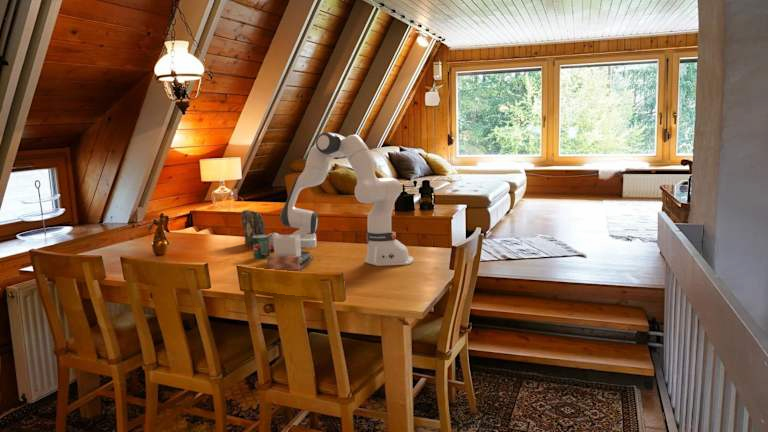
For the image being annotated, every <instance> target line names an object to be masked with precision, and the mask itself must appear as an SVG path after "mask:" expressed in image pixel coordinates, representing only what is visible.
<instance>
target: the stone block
mask: <svg viewBox="0 0 768 432" xmlns="http://www.w3.org/2000/svg"><path fill="white" fill-rule="evenodd" d="M240 216H241V218H240V219H241V223H242V228H243V232H244V233H243V234H244V244H245V245H246V246H247V247H249V248H252V249H253V236H255V235H265V230H266V225H265V223H264V219H263V216H262V215H261V213H259V212H257V211H255V210H250V209H249V210H248V209H245V210H242V212H241V215H240Z"/></svg>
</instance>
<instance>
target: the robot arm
mask: <svg viewBox="0 0 768 432" xmlns="http://www.w3.org/2000/svg"><path fill="white" fill-rule="evenodd" d="M315 141H316V142H315V145H313V146H312V147H311V148H310V150H309V152H308V154H307V155H308V156H307V158H306V161H305V167H304V169H303V170H302V172H301V174H299V175H297V176H296V177H295V179H294V182H292V183H293V184H292V186H291V188H290V191H289V193H288V196H287V198H286V202H285V204H284V206H283V208H282V211H281V213H280V216H279V220H280V222H281V224H282V225H283V226H284V227H288V228H296V229H297V230H295V231H294V232H293V233H291V234H290V235H300V240H301V250H303V249H309V248H316V247H317V243H318V242H317V234H316V232H317V231H318V230H317V229H318V228H319V221H320V220H319V216H318V214H317V213H316V212H315V211H313V210H308V209H304V208H299V207H296V206H295V205H296V203H297V200H298V197H299V194H300V192H301V191H302V190H303V189H306V188H311V187H316V186H317V187H318V186H320V185H321V184H322V183H324V181H326V178H327V175H328V170H329V166H330V165H329V164H330V161H331V160H332V159H334V160H338V159H347V161H348V162H349V164H350V167H351V168H352V170H353V172H354V174H355V176H356V185H355V187H354V196H355V198H356V200H357V201H358V202H359V203H362V204H371V205H372V204H373V206H372V208H371V210H370V211H369V213H368V214H367V216H366V217H367V218H366V219H367V222H366V223H367V232H366V244H367V251H366V256H365V257H366V258H365V260H364V262H365V264H368V265H369V264H370V265H373V266H376V267H379V266H380V267H382V266H402V265H403V266H404V265H405V266H407V265H411V264H412V263H413V262H414V257H413V256H411V255H410V254H409V250H408V248H407V246H406V245H405V244H403V243H402V242H401V241H399V240H398V239H396V238H397V234H396V231H393V230H392V215H393V208H394V205H395V202H396V201H397V199H398V197H400V195H401V193H402V184H401V182H400V181H399V180H398V179H397V178H394V177H388V176H386V177H379V178H378V177H377V175H376V170H377V166H378V164H377V161H376V159H375V157H374V155H373V154H372V153H371V150H370V149H369V147H368V146H367V145H366V143H365V142H364V140H363V139H362V138H361V137H360V136H359V135H358V134H350V135H347V136H343V135H341V134H339V133H334V132H330V131H325V132H322V133H319V135H318V136H317V138H316V140H315ZM273 246H274V240H273Z"/></svg>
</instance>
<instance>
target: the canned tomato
mask: <svg viewBox="0 0 768 432" xmlns="http://www.w3.org/2000/svg"><path fill="white" fill-rule="evenodd" d="M270 249H271V248H270V247H269V234H264V235H255V236H253V248H252V250H253V259H254V260H257V261H258V260H260V261H261V260H267V257H268V256H271V250H270Z"/></svg>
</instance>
